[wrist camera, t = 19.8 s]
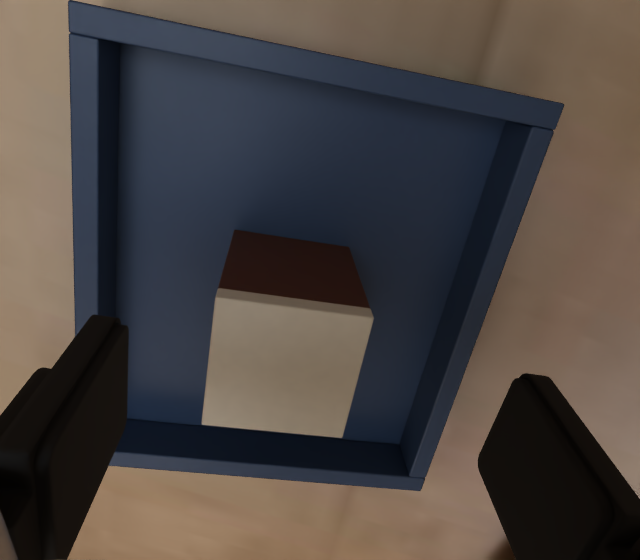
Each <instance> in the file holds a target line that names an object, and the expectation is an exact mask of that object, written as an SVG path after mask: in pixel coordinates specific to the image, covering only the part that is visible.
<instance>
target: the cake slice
mask: <svg viewBox="0 0 640 560" xmlns="http://www.w3.org/2000/svg"><path fill="white" fill-rule="evenodd" d="M373 320H374V317H373V314H372V312H371V309H370V306H369V303H368V300H367V297H366V294H365V291H364V289H363V286H362V283H361V280H360V277H359V274H358V271H357V269H356V266H355V263H354V260H353V257H352V254H351V251H350V249H349V247H346V246H339V245H333V244H326V243H320V242H313V241H307V240H300V239H293V238H287V237H280V236H274V235H267V234H260V233H254V232H247V231H241V230H234V232H233V236H232V239H231V243H230V246H229V250H228V254H227V257H226V261H225V264H224V268H223V271H222V275H221V279H220V282H219V286H218V290H217V293H216V297H215V304H214V313H213V322H212V331H211V340H210V349H209V358H208V367H207V376H206V386H205V395H204V404H203V413H202V422H201V423H202V425H210V426H220V427H231V428H241V429H252V430H262V431H273V432H283V433H294V434H304V435H315V436H325V437H336V438H342V437H343V434H344V430H345V426H346V422H347V418H348V415H349V411H350V407H351V403H352V400H353V396H354V392H355V388H356V384H357V381H358V377H359V373H360V369H361V365H362V362H363V358H364V354H365V350H366V346H367V343H368V339H369V335H370V331H371V328H372V324H373Z"/></svg>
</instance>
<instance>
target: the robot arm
mask: <svg viewBox="0 0 640 560" xmlns="http://www.w3.org/2000/svg"><path fill="white" fill-rule="evenodd" d="M128 345H129V328H128V326H127V325H121V321H120V319H119V318H116V317H109V316H101V315H92V316H91V317H90V318H89V319H88V320H87V322H86V323H85V325H84V326H83V327H82V329H81V330H80V331H79V333H78V334H77V335H76V337H75V338H74V339H73V341H72V342H71V343H70V345H69V346H68V347H67V349H66V350H65V351H64V353H63V354H62V355H61V357H60V358H59V359H58V361H57V362H56V363H55V365H54V366H53V367H52V369H49V368H40V369H38V370H37V371H36V372H35V373H34V374H33V375H32V376H31V377H30V379H29V380H28V381H27V382H26V384H25V385H24V386H23V388H22V389H21V390H20V391H19V393H18V394H17V395H16V396H15V398H14V399H13V400H12V402H11V403H10V404H9V405H8V407H7V408H6V409H5V410H4V412H3V413H2V414H1V415H0V560H67V558H68V556H69V554H70V551H71V549H72V547H73V544H74V542H75V540H76V538H77V535H78V533H79V531H80V529H81V526H82V524H83V522H84V520H85V517H86V515H87V513H88V511H89V508H90V506H91V504H92V502H93V499H94V497H95V495H96V493H97V490H98V488H99V486H100V484H101V481H102V479H103V477H104V475H105V472H106V470H107V468H108V466H109V463H110V461H111V459H112V457H113V454H114V452H115V450H116V448H117V445H118V443H119V441H120V439H121V436H122V434H123V432H124V429H125V425H126V421H127V401H128ZM478 468H479V472H480V474H481V477H482V479H483V481H484V484H485V486H486V489H487V491H488V493H489V496H490V498H491V501H492V503H493V505H494V508H495V510H496V513H497V515H498V517H499V520H500V522H501V525H502V527H503V529H504V532H505V534H506V537H507V539H508V541H509V544H510V546H511V549H512V551H513V553H514V556H515V558H516V560H640V499H639V498H638V496H637V495H636V493H635V492H634V491H633V489H632V488H631V487H630V485H629V484H628V483H627V481H626V480H625V479H624V477H623V476H622V475H621V473H620V472H619V470H618V469H617V468H616V466H615V465H614V464H613V462H612V461H611V460H610V458H609V457H608V456H607V454H606V453H605V451H604V450H603V449H602V447H601V446H600V445H599V443H598V442H597V441H596V439H595V438H594V437H593V435H592V434H591V433H590V431H589V430H588V428H587V427H586V426H585V424H584V423H583V422H582V420H581V419H580V418H579V416H578V415H577V414H576V412H575V411H574V410H573V408H572V407H571V405H570V404H569V403H568V401H567V400H566V399H565V397H564V396H563V395H562V393H561V392H560V391H559V389H558V388H557V387H556V385H555V384H554V382H553V381H552V380H551V379H550V378H549V377H547V376H542V375H535V374H527V373H525V374H522V375H521V376H520V377H519V378H516V379H514V380H513V382H512V384H511V386H510V388H509V390H508V393H507V395H506V397H505V399H504V401H503V404H502V406H501V408H500V410H499V412H498V415H497V417H496V419H495V421H494V423H493V426H492V428H491V430H490V432H489V434H488V436H487V439H486V441H485V443H484V445H483V447H482V450H481V452H480V454H479V457H478Z"/></svg>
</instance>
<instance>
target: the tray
mask: <svg viewBox="0 0 640 560" xmlns="http://www.w3.org/2000/svg"><path fill="white" fill-rule="evenodd" d="M68 13H69V32H70V34H69V59H70V107H71V155H72V202H73V250H74V298H75V337H76V335H77V334H78V333H79V331H80V330H81V329H82V327H83V326H84V325H85V323H86V322H87V320H88V319H89V318H90V317H91V316H92V315H101V316H109V317H116V318H119V319H120V321H121V325H127V326H128V328H129V345H128V401H127V421H126V425H125V429H124V432H123V434H122V436H121V439H120V441H119V443H118V445H117V448H116V450H115V452H114V454H113V457H112V459H111V461H110V463H109V466H120V467H133V468H145V469H157V470H169V471H181V472H194V473H206V474H218V475H230V476H242V477H255V478H267V479H279V480H291V481H303V482H316V483H328V484H340V485H352V486H365V487H377V488H389V489H401V490H413V491H421V489H422V486H423V483H424V481H425V477H426V475H427V472H428V469H429V467H430V464H431V461H432V459H433V456H434V453H435V451H436V448H437V445H438V443H439V440H440V437H441V434H442V432H443V429H444V426H445V424H446V421H447V418H448V416H449V413H450V410H451V408H452V405H453V402H454V399H455V397H456V394H457V391H458V389H459V386H460V383H461V381H462V378H463V375H464V373H465V370H466V367H467V364H468V362H469V359H470V356H471V354H472V351H473V348H474V346H475V343H476V340H477V338H478V335H479V332H480V329H481V327H482V324H483V321H484V319H485V316H486V313H487V311H488V308H489V305H490V303H491V300H492V297H493V294H494V292H495V289H496V286H497V284H498V281H499V278H500V276H501V273H502V270H503V268H504V265H505V262H506V259H507V257H508V254H509V251H510V249H511V246H512V243H513V241H514V238H515V235H516V233H517V230H518V227H519V224H520V222H521V219H522V216H523V214H524V211H525V208H526V206H527V203H528V200H529V197H530V195H531V192H532V189H533V187H534V184H535V181H536V179H537V176H538V173H539V171H540V168H541V165H542V162H543V160H544V157H545V154H546V152H547V149H548V146H549V144H550V141H551V138H552V136H553V130H554V129H555V128H556V126H557V123H558V121H559V118H560V115H561V113H562V110H563V107H564V104H563V103H559V102H554V101H549V100H544V99H540V98H535V97H530V96H525V95H521V94H516V93H511V92H506V91H502V90H497V89H492V88H487V87H483V86H478V85H473V84H468V83H463V82H459V81H454V80H449V79H444V78H440V77H435V76H430V75H425V74H421V73H416V72H411V71H406V70H401V69H397V68H392V67H387V66H382V65H378V64H373V63H368V62H363V61H359V60H354V59H349V58H344V57H339V56H335V55H330V54H325V53H320V52H316V51H311V50H306V49H301V48H297V47H292V46H287V45H282V44H278V43H273V42H268V41H263V40H258V39H254V38H249V37H244V36H239V35H235V34H230V33H225V32H220V31H216V30H211V29H206V28H201V27H196V26H192V25H187V24H182V23H177V22H173V21H168V20H163V19H158V18H154V17H149V16H144V15H139V14H135V13H130V12H125V11H120V10H115V9H111V8H106V7H101V6H96V5H92V4H87V3H82V2H77V1H73V0H69V1H68ZM234 230H241V231H247V232H254V233H260V234H267V235H274V236H280V237H287V238H293V239H300V240H307V241H313V242H320V243H326V244H333V245H339V246H346V247H349V249H350V251H351V254H352V257H353V260H354V263H355V266H356V269H357V271H358V274H359V277H360V280H361V283H362V286H363V289H364V291H365V294H366V297H367V300H368V303H369V306H370V309H371V312H372V314H373V317H374V320H373V324H372V328H371V331H370V335H369V339H368V343H367V346H366V350H365V354H364V358H363V362H362V365H361V369H360V373H359V377H358V381H357V384H356V388H355V392H354V396H353V400H352V403H351V407H350V411H349V415H348V418H347V422H346V426H345V430H344V434H343V437H342V438H336V437H325V436H315V435H304V434H294V433H283V432H273V431H262V430H252V429H241V428H231V427H220V426H210V425H202V423H201V422H202V413H203V404H204V395H205V386H206V376H207V367H208V358H209V349H210V340H211V331H212V322H213V313H214V304H215V297H216V293H217V290H218V286H219V282H220V279H221V275H222V271H223V268H224V264H225V261H226V257H227V254H228V250H229V246H230V243H231V239H232V236H233V232H234Z"/></svg>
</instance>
